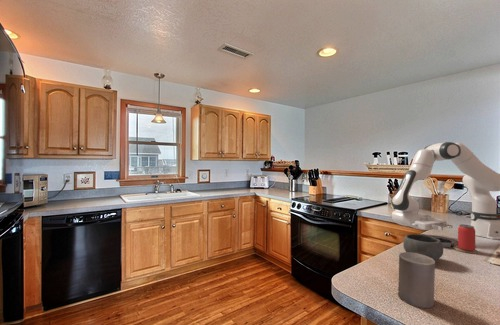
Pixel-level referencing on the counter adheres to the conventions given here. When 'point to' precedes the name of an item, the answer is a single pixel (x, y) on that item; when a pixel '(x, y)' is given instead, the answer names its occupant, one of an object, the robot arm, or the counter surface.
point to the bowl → (423, 245)
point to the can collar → (446, 242)
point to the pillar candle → (416, 279)
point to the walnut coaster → (464, 250)
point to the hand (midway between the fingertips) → (447, 227)
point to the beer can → (466, 237)
